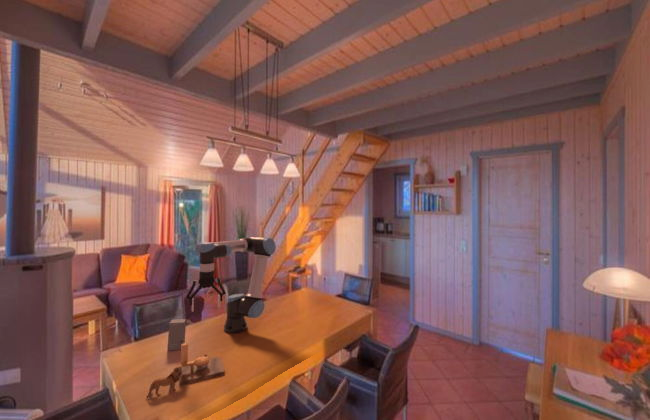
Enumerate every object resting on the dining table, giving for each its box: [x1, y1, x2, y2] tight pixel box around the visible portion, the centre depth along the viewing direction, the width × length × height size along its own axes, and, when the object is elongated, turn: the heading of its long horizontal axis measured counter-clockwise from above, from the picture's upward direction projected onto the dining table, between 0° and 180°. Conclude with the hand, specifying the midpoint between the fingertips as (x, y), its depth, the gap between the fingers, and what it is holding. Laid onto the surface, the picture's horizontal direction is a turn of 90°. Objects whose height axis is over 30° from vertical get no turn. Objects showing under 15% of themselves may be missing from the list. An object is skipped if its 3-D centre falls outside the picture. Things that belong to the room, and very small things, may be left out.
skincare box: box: [167, 318, 187, 352], centre depth 168 cm, size 8×7×16 cm
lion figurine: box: [145, 365, 182, 399], centre depth 127 cm, size 15×5×9 cm, turn 138°
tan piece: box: [180, 342, 210, 367], centre depth 142 cm, size 13×7×11 cm, turn 118°
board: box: [178, 353, 226, 386], centre depth 144 cm, size 20×16×6 cm
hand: (206, 309), depth 157 cm, fingers open, 13 cm apart
